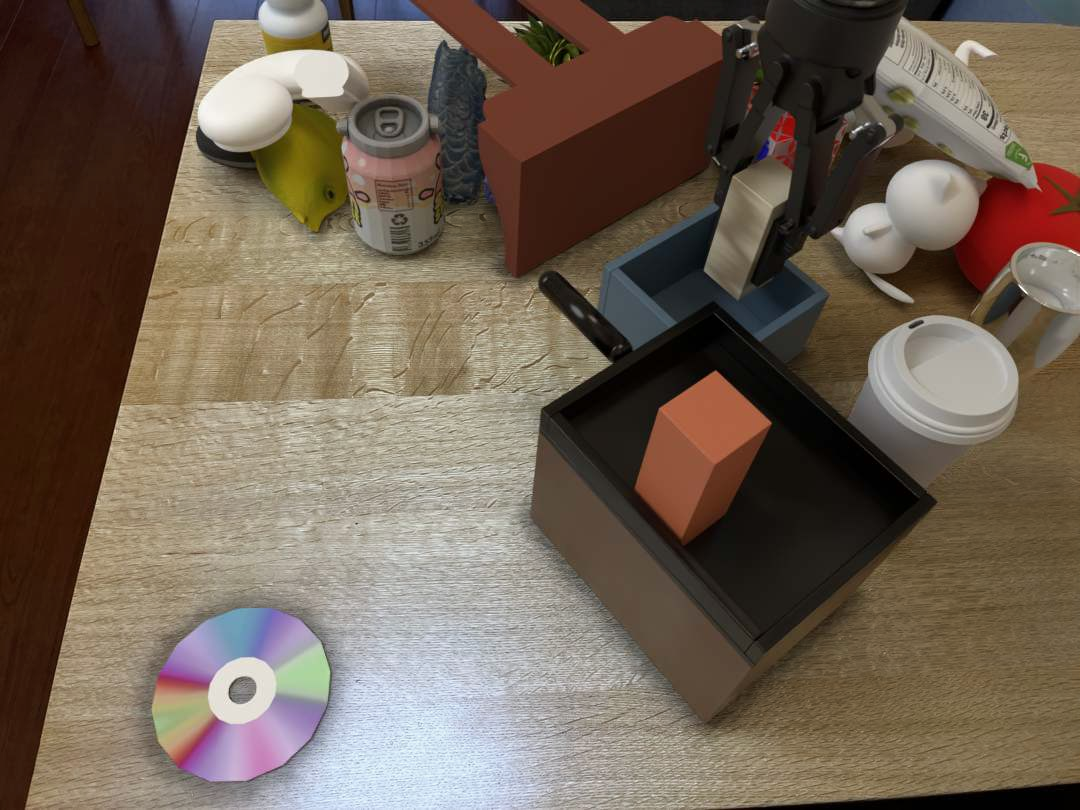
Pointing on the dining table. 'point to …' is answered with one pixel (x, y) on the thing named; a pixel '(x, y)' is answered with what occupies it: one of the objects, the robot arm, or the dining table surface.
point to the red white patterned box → (786, 138)
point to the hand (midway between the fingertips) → (744, 257)
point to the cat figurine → (911, 219)
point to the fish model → (458, 120)
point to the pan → (737, 537)
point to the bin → (704, 291)
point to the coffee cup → (935, 393)
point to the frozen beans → (948, 106)
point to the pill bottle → (295, 27)
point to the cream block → (747, 224)
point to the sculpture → (277, 96)
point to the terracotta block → (699, 455)
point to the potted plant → (547, 43)
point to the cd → (256, 726)
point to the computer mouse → (226, 152)
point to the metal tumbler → (1033, 305)
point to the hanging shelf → (585, 119)
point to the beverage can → (394, 173)
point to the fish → (306, 166)
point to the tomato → (1020, 221)
